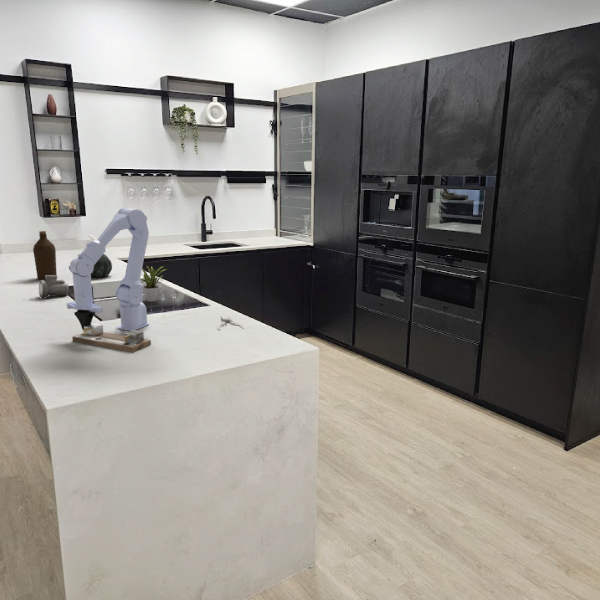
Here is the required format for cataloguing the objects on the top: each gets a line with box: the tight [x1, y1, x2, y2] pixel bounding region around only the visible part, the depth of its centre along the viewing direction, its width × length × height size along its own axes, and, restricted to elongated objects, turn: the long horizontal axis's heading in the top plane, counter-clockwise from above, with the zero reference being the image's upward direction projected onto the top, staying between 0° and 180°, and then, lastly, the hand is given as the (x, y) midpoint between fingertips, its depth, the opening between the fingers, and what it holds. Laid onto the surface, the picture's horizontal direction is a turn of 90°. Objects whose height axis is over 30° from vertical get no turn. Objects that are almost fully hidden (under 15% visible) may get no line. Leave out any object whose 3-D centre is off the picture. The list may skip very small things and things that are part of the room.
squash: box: [91, 253, 113, 278], centre depth 285 cm, size 14×15×15 cm
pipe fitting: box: [38, 275, 70, 299], centre depth 240 cm, size 12×8×10 cm
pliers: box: [216, 315, 245, 331], centre depth 203 cm, size 10×2×15 cm
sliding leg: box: [82, 322, 104, 336], centre depth 181 cm, size 7×4×3 cm, turn 157°
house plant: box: [140, 265, 168, 303], centre depth 235 cm, size 14×14×16 cm
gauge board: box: [72, 329, 152, 353], centre depth 178 cm, size 9×26×4 cm, turn 67°
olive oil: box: [32, 230, 58, 281], centre depth 277 cm, size 11×11×25 cm
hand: (86, 330), depth 184 cm, fingers closed
